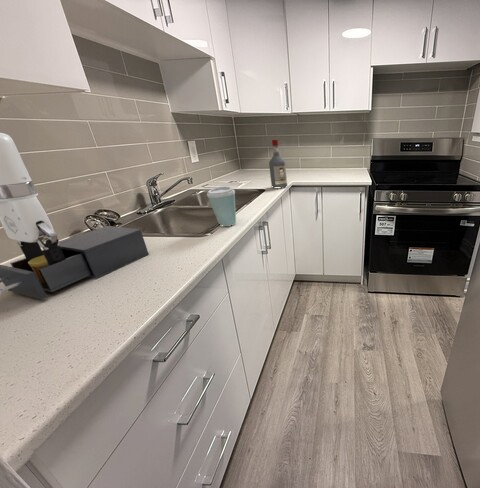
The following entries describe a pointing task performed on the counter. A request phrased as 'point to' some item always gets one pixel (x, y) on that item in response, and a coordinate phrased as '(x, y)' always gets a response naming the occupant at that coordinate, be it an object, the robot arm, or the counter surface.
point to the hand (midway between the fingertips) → (46, 260)
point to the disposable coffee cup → (223, 204)
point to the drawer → (44, 275)
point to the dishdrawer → (108, 248)
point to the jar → (38, 266)
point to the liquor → (277, 168)
